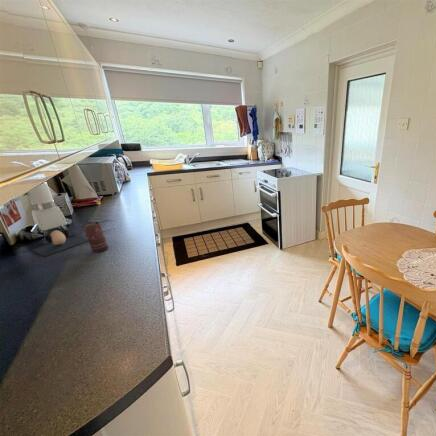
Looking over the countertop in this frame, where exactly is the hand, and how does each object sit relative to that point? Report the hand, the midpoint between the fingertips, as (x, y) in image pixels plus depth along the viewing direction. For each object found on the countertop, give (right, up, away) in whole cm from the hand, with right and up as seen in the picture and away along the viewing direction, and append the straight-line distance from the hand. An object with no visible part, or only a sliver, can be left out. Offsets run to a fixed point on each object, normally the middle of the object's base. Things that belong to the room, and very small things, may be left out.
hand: (58, 239), depth 117 cm
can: (+24, -5, -3) cm, 25 cm away
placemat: (0, -3, +1) cm, 3 cm away
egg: (0, -3, +1) cm, 3 cm away
